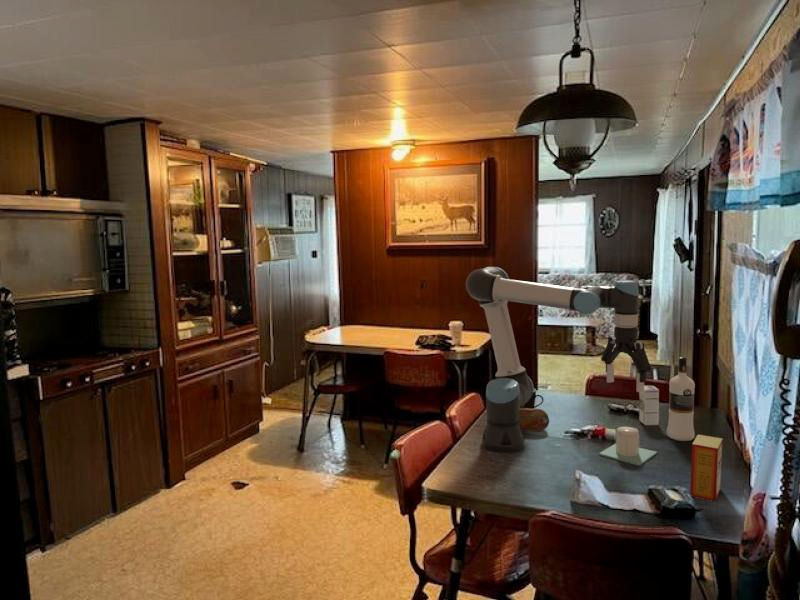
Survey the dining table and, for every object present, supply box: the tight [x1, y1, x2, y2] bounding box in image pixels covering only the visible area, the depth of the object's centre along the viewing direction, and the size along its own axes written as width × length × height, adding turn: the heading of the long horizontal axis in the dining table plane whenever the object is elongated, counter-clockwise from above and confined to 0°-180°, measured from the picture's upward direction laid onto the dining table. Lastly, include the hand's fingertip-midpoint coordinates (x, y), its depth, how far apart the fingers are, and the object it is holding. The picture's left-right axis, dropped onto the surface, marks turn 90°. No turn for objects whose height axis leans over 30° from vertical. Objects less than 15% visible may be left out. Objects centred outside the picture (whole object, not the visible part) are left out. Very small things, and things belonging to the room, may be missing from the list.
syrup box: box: [638, 385, 660, 426], centre depth 229 cm, size 6×6×14 cm
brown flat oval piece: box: [519, 408, 550, 432], centre depth 226 cm, size 15×3×8 cm, turn 76°
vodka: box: [666, 356, 696, 442], centre depth 212 cm, size 9×9×30 cm
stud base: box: [598, 443, 658, 467], centre depth 199 cm, size 14×14×6 cm
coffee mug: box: [521, 387, 544, 409], centre depth 245 cm, size 12×9×10 cm
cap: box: [615, 426, 640, 456], centre depth 199 cm, size 7×7×8 cm
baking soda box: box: [689, 434, 724, 502], centre depth 169 cm, size 10×6×16 cm
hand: (624, 386), depth 201 cm, fingers open, 13 cm apart
